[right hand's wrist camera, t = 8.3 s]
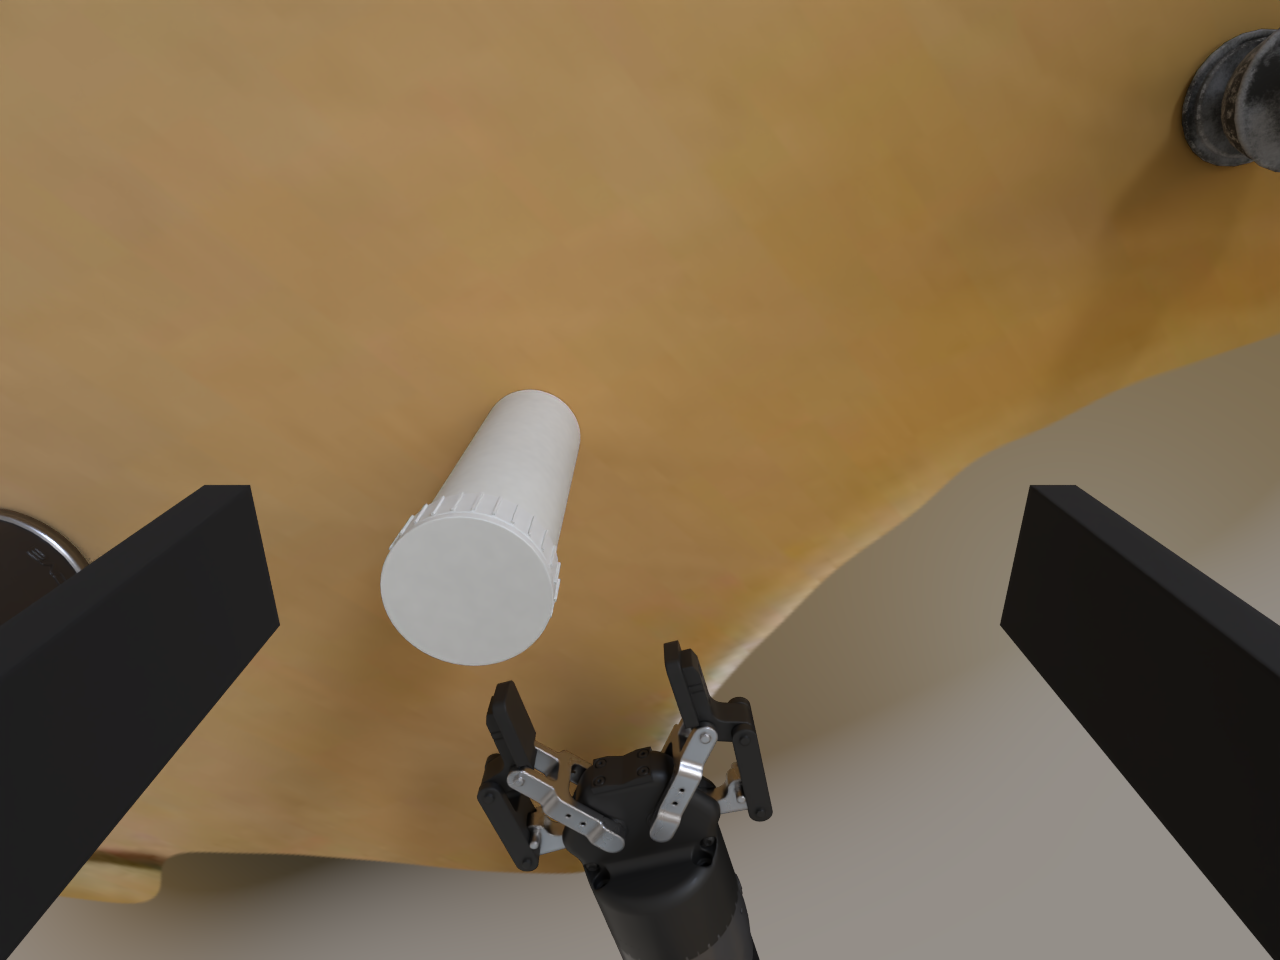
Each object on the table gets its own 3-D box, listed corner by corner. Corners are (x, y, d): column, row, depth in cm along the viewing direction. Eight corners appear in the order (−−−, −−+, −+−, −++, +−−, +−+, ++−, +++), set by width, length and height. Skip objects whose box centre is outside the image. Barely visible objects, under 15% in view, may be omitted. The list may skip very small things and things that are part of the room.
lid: (395, 480, 24) (375, 504, 22) (567, 499, 24) (562, 525, 22) (396, 626, 26) (378, 658, 24) (554, 642, 26) (548, 675, 24)
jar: (486, 383, 37) (392, 510, 23) (584, 395, 37) (551, 527, 23) (482, 474, 38) (393, 643, 24) (575, 484, 39) (540, 658, 25)
